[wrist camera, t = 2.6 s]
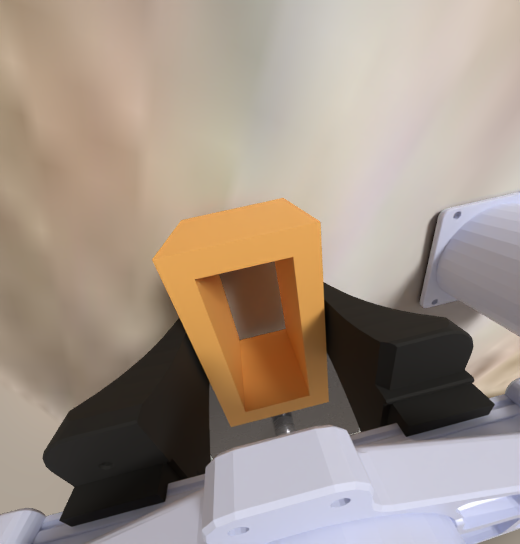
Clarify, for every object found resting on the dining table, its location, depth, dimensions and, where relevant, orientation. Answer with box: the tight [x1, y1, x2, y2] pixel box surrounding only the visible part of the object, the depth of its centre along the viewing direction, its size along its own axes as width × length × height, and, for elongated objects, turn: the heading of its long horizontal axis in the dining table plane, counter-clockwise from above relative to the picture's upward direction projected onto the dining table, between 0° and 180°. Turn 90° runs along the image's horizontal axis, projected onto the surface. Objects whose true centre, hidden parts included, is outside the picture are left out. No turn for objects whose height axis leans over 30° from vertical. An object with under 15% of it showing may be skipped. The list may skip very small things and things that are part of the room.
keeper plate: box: [209, 354, 359, 459], centre depth 19 cm, size 16×15×6 cm
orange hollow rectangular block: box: [152, 198, 329, 427], centre depth 11 cm, size 5×10×5 cm, turn 11°
